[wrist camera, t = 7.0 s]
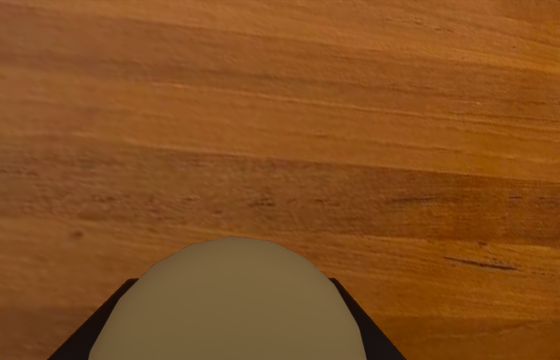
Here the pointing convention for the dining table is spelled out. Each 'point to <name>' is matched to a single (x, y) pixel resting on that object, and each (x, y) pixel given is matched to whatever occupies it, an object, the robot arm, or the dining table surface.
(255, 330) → the tan peg doll
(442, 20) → the dining table surface
